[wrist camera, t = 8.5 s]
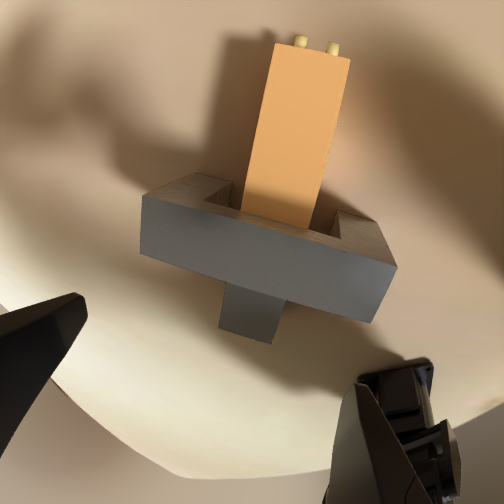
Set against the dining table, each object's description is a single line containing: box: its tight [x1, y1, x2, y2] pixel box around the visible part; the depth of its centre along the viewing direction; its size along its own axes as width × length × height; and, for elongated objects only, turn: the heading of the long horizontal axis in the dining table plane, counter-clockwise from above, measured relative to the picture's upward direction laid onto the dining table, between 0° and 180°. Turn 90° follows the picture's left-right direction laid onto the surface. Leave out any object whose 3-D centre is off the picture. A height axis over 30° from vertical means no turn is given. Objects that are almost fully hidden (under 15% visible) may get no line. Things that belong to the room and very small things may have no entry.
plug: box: [218, 35, 351, 344], centre depth 15 cm, size 17×3×3 cm, turn 169°
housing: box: [140, 173, 398, 323], centre depth 15 cm, size 3×11×6 cm, turn 79°
